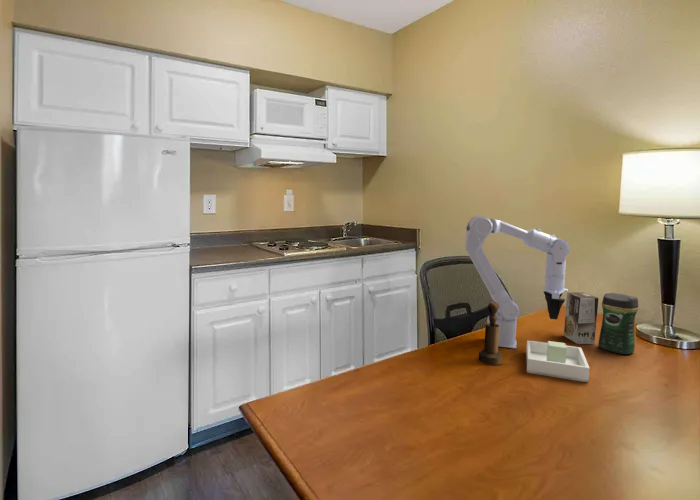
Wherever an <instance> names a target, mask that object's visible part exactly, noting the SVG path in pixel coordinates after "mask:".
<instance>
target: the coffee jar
mask: <svg viewBox="0 0 700 500" xmlns="http://www.w3.org/2000/svg"><path fill="white" fill-rule="evenodd" d="M638 300H639V299H638V297H637V296H631V295H629V294H628V295H627V294H623V293H617V292H608V293H605V294H604V295H603V297H602V302H601V307H602V308H601V309H602V319H601V320H602V322H601V325H600V332H599V337H598V347H599V348H600V349H602V350H605V351H608V352H612V353H615V354H620V355H630V354H631V355H632V354H634V353H635V347H636V346H635V344H636V342H635V340H636V339H635V319H636V315H637V313H638V311H639V301H638Z"/></svg>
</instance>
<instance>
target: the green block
mask: <svg viewBox="0 0 700 500" xmlns="http://www.w3.org/2000/svg"><path fill="white" fill-rule="evenodd" d="M547 343H548V347H547V359H546V361H552V362H559V363H565V362H566V350H567V348H566V346H567V344H566V343H565V342H558V341H552V340H551V341H550V340H548V341H547Z"/></svg>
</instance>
